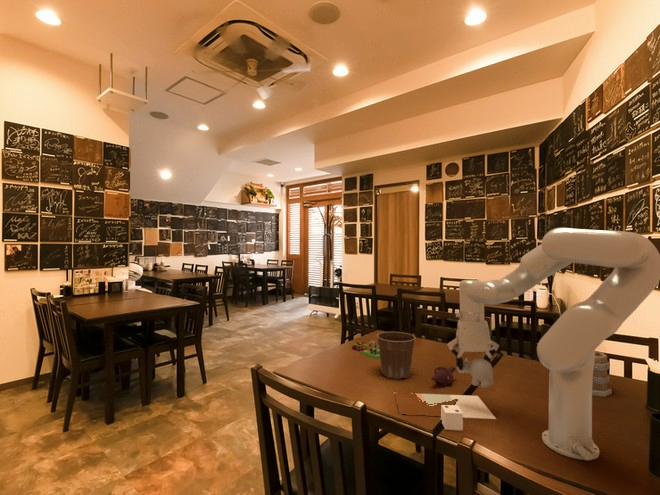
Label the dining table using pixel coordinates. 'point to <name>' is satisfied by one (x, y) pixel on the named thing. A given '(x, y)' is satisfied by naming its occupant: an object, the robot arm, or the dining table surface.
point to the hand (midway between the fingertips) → (473, 368)
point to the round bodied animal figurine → (478, 372)
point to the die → (451, 417)
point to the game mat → (461, 404)
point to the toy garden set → (372, 353)
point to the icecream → (443, 375)
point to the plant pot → (396, 354)
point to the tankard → (600, 376)
